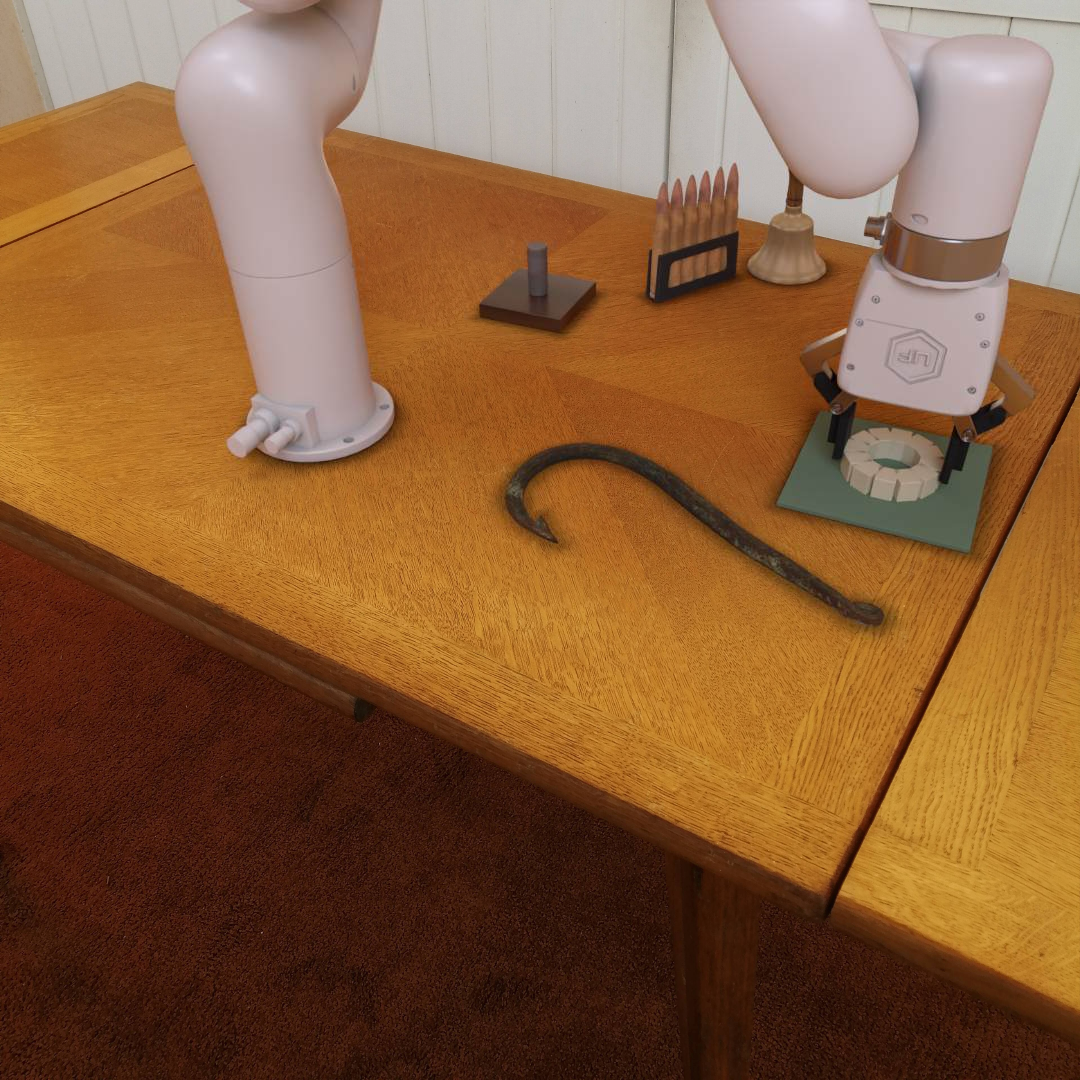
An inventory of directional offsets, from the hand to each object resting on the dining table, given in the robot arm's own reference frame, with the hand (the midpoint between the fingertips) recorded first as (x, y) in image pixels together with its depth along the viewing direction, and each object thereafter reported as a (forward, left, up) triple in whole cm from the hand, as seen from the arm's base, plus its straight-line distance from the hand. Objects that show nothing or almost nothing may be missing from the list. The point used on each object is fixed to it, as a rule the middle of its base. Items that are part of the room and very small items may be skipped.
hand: (892, 461), depth 78 cm
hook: (-15, +13, -2) cm, 20 cm away
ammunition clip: (+26, +25, -2) cm, 36 cm away
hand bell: (+34, +17, -2) cm, 38 cm away
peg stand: (+16, +38, -2) cm, 41 cm away
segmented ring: (0, 0, -1) cm, 1 cm away
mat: (0, 0, -2) cm, 2 cm away
